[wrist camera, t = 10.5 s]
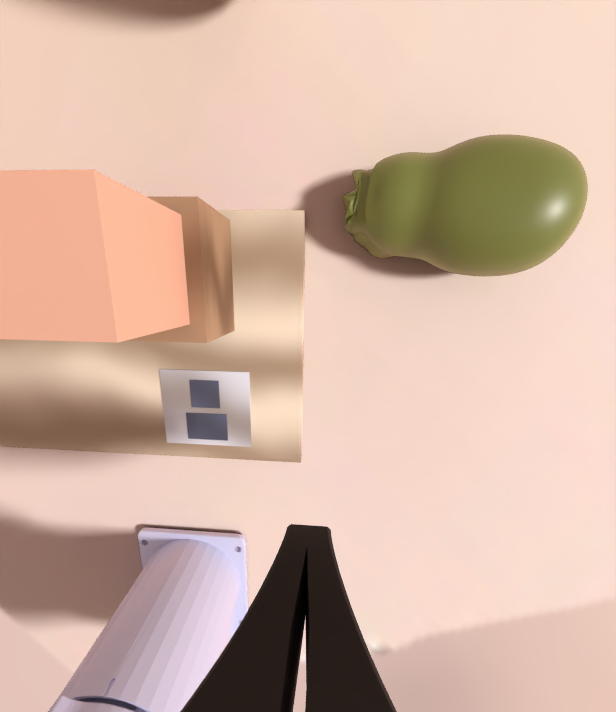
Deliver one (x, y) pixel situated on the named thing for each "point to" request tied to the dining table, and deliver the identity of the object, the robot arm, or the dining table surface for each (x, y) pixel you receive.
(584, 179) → the pear
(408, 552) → the dining table surface
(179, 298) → the top block
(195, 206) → the base block
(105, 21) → the dining table surface
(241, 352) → the build board
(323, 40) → the dining table surface
